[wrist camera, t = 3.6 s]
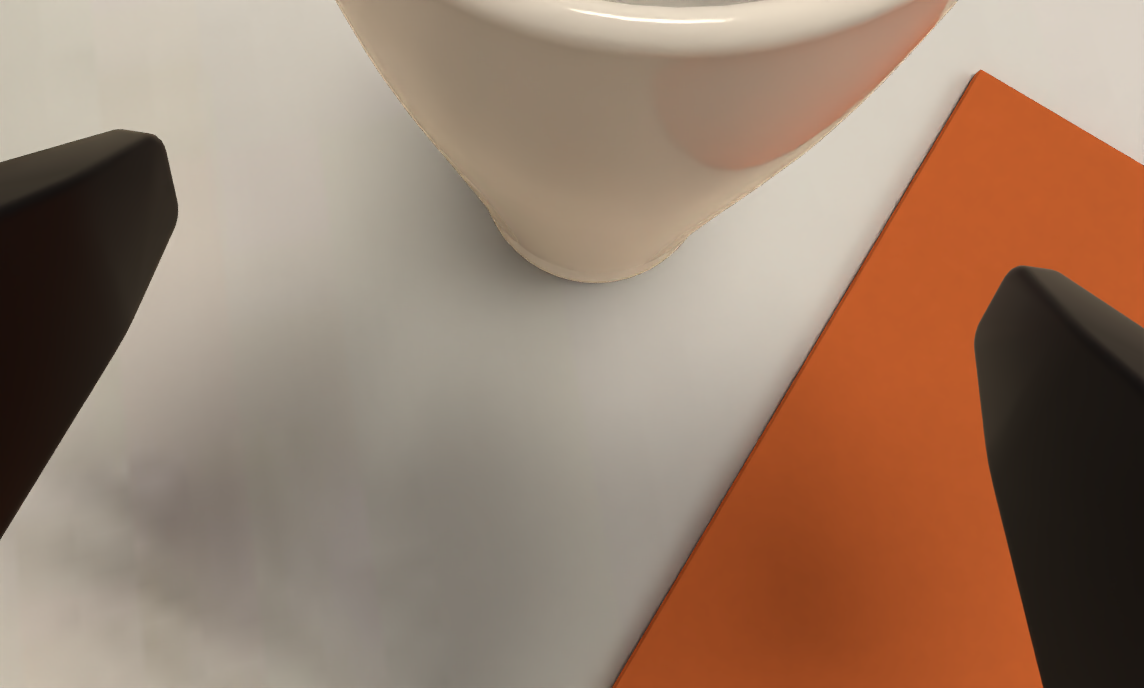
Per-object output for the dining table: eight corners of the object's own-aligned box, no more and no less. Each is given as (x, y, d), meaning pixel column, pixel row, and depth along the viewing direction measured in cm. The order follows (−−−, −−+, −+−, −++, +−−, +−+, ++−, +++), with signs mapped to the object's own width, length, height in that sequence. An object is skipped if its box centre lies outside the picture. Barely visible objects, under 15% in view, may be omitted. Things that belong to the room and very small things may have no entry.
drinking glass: (759, 288, 20) (1297, -47, 5) (482, 341, 20) (252, 146, 5) (702, 20, 21) (1053, -958, 6) (431, 69, 21) (92, -810, 6)
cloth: (998, 1190, 19) (1005, 1202, 19) (501, 873, 19) (500, 880, 19) (1442, 349, 20) (1455, 349, 20) (975, 73, 21) (981, 68, 21)
